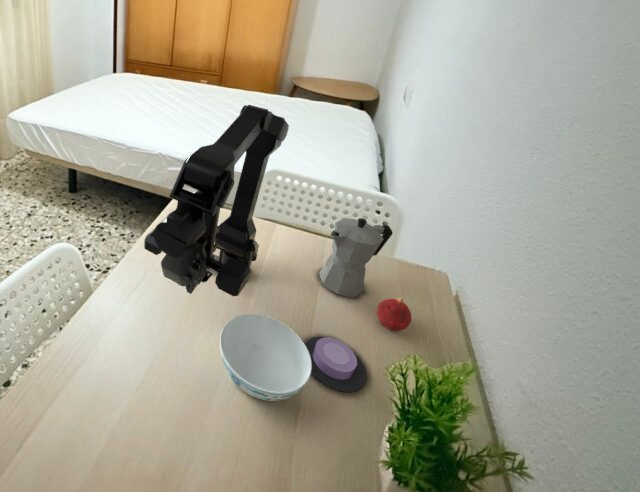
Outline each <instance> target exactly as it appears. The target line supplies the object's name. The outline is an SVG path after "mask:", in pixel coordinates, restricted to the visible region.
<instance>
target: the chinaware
mask: <svg viewBox="0 0 640 492" xmlns="http://www.w3.org/2000/svg"><path fill="white" fill-rule="evenodd" d="M304 343H305V342H304V340H303V339H302V338H301V336H299V335H298V334H297V333H296V331H294V330H293V329H292V328H291V327H289V325H287V324H285V323H284V322H282V321H281V320H278V319H276V318H273V317H271V316H268V315H265V314H260V313H242V314H238V315H236V316H234V317H232V318H230V319H229V320H228V321H227V322H226V323H225V324H224V325H223V326H222V328H221V331H220V335H219V351H220V356H221V361H222V363H223V366H224V369H225V370H226V372H227V375H229V378H230V379H231V380H232V381H233V382H234V384H235V385H236V386H237V387H238V388H240V389H241V390H242V391H243V392H244V393H246V394H248V395H249V396H251V397H253V398H256V399H258V400H261V401H268V402H278V401H283V400H287V399H289V398H291V397H293V396H295V395H296V394H297V393H299V392H300V391H301V390H302V389H303V388H304V387H305V386H306V384H307V383H308V381H309V380H310V379H311V376H312V374H311V370H312V362H311V357H310V354H309V351H308V349H307V347H306V345H305V344H304Z"/></svg>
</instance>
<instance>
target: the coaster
mask: <svg viewBox="0 0 640 492" xmlns="http://www.w3.org/2000/svg"><path fill="white" fill-rule="evenodd" d="M321 338H328V336H313V337H310V338H309V339H307V340H305V342H304V344H305V345H306V347H307V349H308V351H309V354H310V357H311V362H312V370H311V376H313V377H314V378H315V379H316V380H317V381H318V382H320V383H321V384H322V385H324V386H326V387H328V388H329V389H331V390H334V391H337V392H341V393H355V392H358V391H359V390H361V389H363V387H364V386H365V385H366V382H367V378H368V377H367V370H366V366H365V365H364V363H363V361H362V360H361V358H360V357H359V356H358V355H357V353H356V352H354V351H353V353H354V354H355V356H356V359H357V366H356V368H355V371H354V373H353V375H352V376H351V377H350V378H348V379H345V380H339V379H335V378H332V377H330V376H328V375H327V374H325V373H324V372H323V371H321V370H320V369H319V367H318V366H317V365H316V363H315V361H314V359H313V351H314V348H315V345H316V343H317V341H318V340H319V339H321Z"/></svg>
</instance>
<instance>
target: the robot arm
mask: <svg viewBox="0 0 640 492" xmlns="http://www.w3.org/2000/svg"><path fill="white" fill-rule="evenodd" d="M289 127H290V125H289V123H288V122H287V121H286V118H285V117H283V116H279V115H276V114H274V113H273V111H269V109H267V108H263V107H260V106H256V105H252V104H248V105H245V104H244V105H243V106H242V108H241V110H240V112H239V115H238V116H237V117H236V118H235V120H234V121H233V122H231V124H230V125H229V126H228V127H227V128H226V130H225V131H224V132H223V133H222V134H221V135H220V137H218V138H217V140H216V141H215V142H213V143H212V144H207V145H203V146H200V147H198V149H197V150H195V151H194V152H192V153H191V154H190V155H189V156H188V157H187V158H186V159H185V160H184V161H183V162H182V163H183V164H182V166H181V168H180V170H179V173H178V175H177V176H176V177H177V178H176V180H175V183H174V185H173V186H172V189H171V191H170V193H169V199H173V200H174V201H177V204H176V208H175V209H174V210H172V211H171V212H170V213H168V214H167V216H166V217H165V218H164V219H162V221H160V222H159V223H158V224H156V226H155V227H154V229H152V230H150V232H149V233H147V234H146V235H145V237H144V243H143V247H144V250H146V251H147V252H150V253H151V254H153V255H155V256H158V255H160V254H162V253H164V254H165V255H164V256H163V258H162V259H161V261H160V266H161V271H162V275H163V277H164V278H166V279H168V280H171V281H172V282H174V283H176V284H177V285H178V286H180V287H185V290H186V293H188V294H190V295H192V294H193V293H194V291H195V290H196V288H197V287H198V286H199V285H200V284H201V283H207V282H208V281H209V280H210V278H212V276H213V275H214V276H216V277H215V280H214V284H215V286H216V287H217V289H219V290H220V291H222V292H224V293H225V294H228V295H230V296H231V297H238V296H240V294H241V292H242V290H243V289H244V288H245V287H246V285H247V284H248V282H249V281H250V279H251V275H252V269H251V267H252V263H253V262H256V261H257V258H258V252H259V247H260V245H259V244H258V242H257V241H256V240H255V239H256V235H257V234H256V233H257V228H256V224H255V221H254V219H253V217H254V213H255V210H256V209H255V208H256V205H257V202H258V198H259V195H260V190H261V187H262V184H263V180H264V176H265V174H266V170H267V165H268V163H269V159H270V156H271V155H273V154H274V152H276V151H277V150H278V149H279V148H280V147H281V146H282V143H283V142H284V141H285V140H286V138H287V136H288V132H289V129H290V128H289ZM244 154H245V157H244V161H243V164H242V169H241V173H240V175H239V179H238V184H237V188H236V192H235V196H234V198H233V199H234V200H233V203H232V207H231V211H230V214H229V215H228V217H226V218H225V219H223V221H222V222H221V223H220V224H219V220H220V219H219V218H220V213H221V209H223V208H224V207H225V205H226V202H227V200H228V198H229V196H230V194H231V191H232V189H233V188H234V185H235V166H236V164H237V163H238V162H239V160H240V159H241V158H242V157H243V155H244ZM185 186H186V187H189V188H191V189H194V190H193V191H191V190H187V189H185V188H184V187H185ZM218 224H219V225H218ZM216 250H218V251H219V254H218V255H217V254H215V253H214V252H215V251H216Z"/></svg>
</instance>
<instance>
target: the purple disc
mask: <svg viewBox="0 0 640 492" xmlns="http://www.w3.org/2000/svg"><path fill="white" fill-rule="evenodd" d="M353 352H354V351H353V349H351V347H350V346H348V344H346V343H344V342H342V341H341V340H339V339H336V338H333V337H327V338H321V339H319V340H318V341H317V343H316V345H315V348H314V351H313V359H314V361H315V363H316V365H317V366H318V367H319V369H320V370H321V371H323V372H324V373H325V374H327V375H328V376H330V377H332V378H335V379H339V380H345V379H348V378H350V377H351V376H352V375H353V373H354V371H355V368H356V366H357V359H356V356H355V354H356V353H355V352H354V353H355V354H354V353H353Z"/></svg>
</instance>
